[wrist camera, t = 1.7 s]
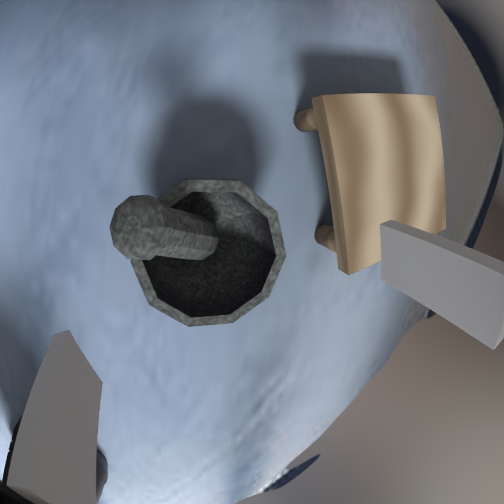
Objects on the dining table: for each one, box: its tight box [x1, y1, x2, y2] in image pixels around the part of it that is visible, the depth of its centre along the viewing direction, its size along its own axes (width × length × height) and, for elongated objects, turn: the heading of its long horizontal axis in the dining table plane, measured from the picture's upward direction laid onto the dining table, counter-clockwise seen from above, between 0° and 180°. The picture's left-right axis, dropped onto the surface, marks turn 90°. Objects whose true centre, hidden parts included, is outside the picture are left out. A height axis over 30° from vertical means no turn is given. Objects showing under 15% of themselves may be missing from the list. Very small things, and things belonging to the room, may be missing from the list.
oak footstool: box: [294, 93, 446, 275], centre depth 24 cm, size 14×14×6 cm
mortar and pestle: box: [110, 178, 286, 327], centre depth 18 cm, size 11×9×12 cm
